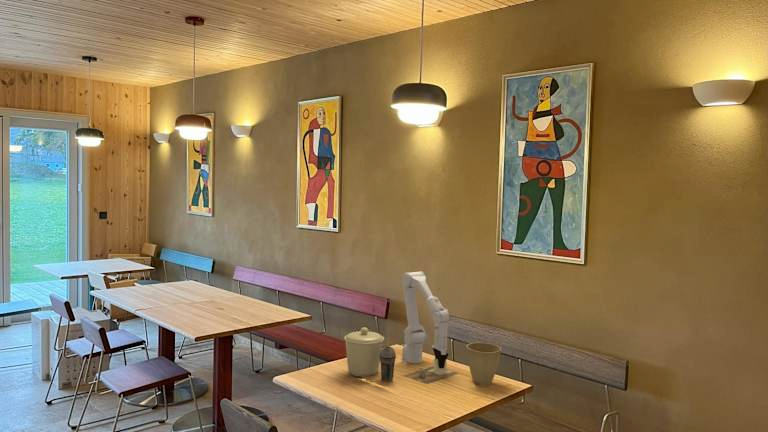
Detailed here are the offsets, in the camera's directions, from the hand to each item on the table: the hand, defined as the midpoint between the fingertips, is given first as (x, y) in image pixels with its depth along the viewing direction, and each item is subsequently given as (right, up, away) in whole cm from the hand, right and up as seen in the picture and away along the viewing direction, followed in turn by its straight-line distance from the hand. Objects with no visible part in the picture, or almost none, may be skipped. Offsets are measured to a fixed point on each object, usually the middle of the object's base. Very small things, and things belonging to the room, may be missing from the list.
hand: (439, 365), depth 253 cm
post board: (-4, -4, -4) cm, 7 cm away
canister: (-35, -3, -2) cm, 35 cm away
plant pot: (+18, -5, -10) cm, 21 cm away
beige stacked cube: (0, -2, 0) cm, 2 cm away
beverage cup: (-24, -4, -13) cm, 28 cm away
